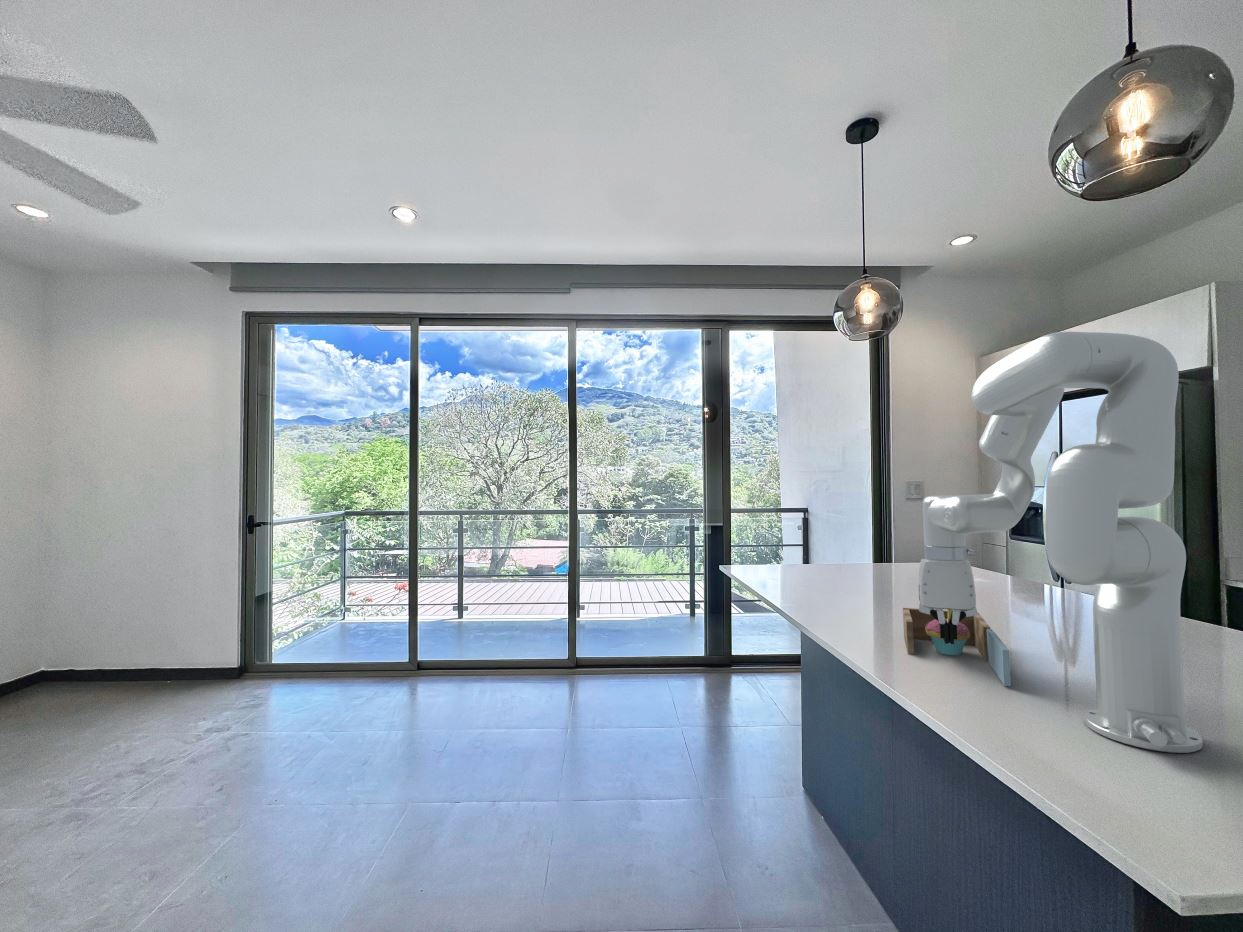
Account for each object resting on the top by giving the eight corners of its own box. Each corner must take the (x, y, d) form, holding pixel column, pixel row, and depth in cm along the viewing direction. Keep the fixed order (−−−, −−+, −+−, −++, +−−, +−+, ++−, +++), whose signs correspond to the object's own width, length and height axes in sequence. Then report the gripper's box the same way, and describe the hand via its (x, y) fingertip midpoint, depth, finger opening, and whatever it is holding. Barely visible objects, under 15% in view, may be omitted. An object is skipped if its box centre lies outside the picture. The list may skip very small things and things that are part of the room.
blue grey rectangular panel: (993, 660, 114) (991, 629, 114) (1010, 686, 100) (1009, 650, 100) (987, 660, 114) (986, 628, 114) (1004, 685, 100) (1002, 649, 100)
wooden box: (991, 661, 114) (990, 627, 114) (907, 654, 120) (906, 621, 121) (979, 643, 127) (978, 612, 127) (904, 637, 133) (902, 607, 133)
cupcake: (979, 658, 116) (976, 600, 117) (937, 658, 117) (934, 600, 118) (958, 646, 125) (955, 592, 125) (918, 646, 126) (916, 592, 126)
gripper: (983, 553, 117) (987, 640, 117) (904, 551, 123) (907, 634, 123) (990, 557, 110) (994, 650, 110) (906, 555, 116) (909, 643, 116)
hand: (948, 642), depth 116 cm, fingers closed
